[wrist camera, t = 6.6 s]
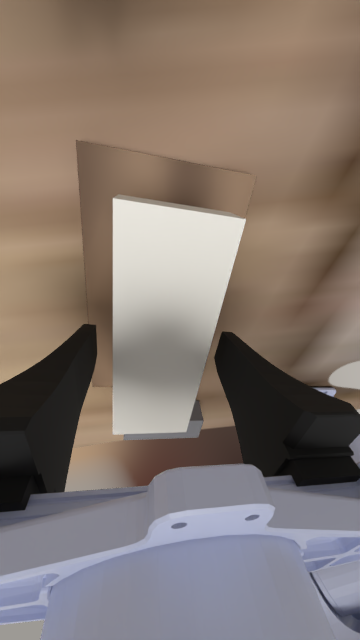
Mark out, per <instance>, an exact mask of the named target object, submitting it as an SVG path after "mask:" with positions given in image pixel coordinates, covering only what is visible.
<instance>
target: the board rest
mask: <svg viewBox="0 0 360 640" xmlns="http://www.w3.org/2000/svg"><path fill="white" fill-rule="evenodd" d="M202 424H203V416H202V412H201V408H200V404H199V401H195V403H194V406H193V410H192V413H191V417H190V421H189V424H188V428H187V431H186V432H178V433H146V434H124V440H137V439H138V440H139V439H165V438H193V437H198V436H199V433H200V430H201V427H202Z"/></svg>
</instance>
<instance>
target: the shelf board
mask: <svg viewBox="0 0 360 640" xmlns="http://www.w3.org/2000/svg"><path fill="white" fill-rule="evenodd" d="M245 222H246V219H244V218H242V217H240V216H237V215H235V214H233V213H230V212H225V211H219V210H212V209H206V208H200V207H194V206H188V205H181V204H175V203H169V202H163V201H157V200H151V199H144V198H138V197H132V196H126V195H120V194H118V195H117V196H115V197H114V198H113V435H114V434H146V433H178V432H186V431H187V428H188V424H189V421H190V417H191V413H192V410H193V406H194V403H195V399H196V396H197V392H198V389H199V385H200V381H201V378H202V374H203V371H204V367H205V364H206V360H207V357H208V353H209V350H210V346H211V342H212V339H213V335H214V332H215V328H216V325H217V321H218V318H219V314H220V310H221V307H222V303H223V300H224V296H225V293H226V289H227V286H228V282H229V278H230V275H231V271H232V268H233V264H234V261H235V257H236V254H237V250H238V247H239V243H240V239H241V236H242V232H243V229H244V225H245Z"/></svg>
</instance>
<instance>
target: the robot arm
mask: <svg viewBox="0 0 360 640" xmlns="http://www.w3.org/2000/svg"><path fill="white" fill-rule="evenodd" d="M96 359H97V333H96V325H91V324H84V325H82V326H81V327H80V328H79V329H78V330H77V331H76V332H75V333H74V334H73V335H72V336H71V337H70V338H69V339H67V340H66V341H65V342H64V343H63V344H62V345H61V346H60V347H58V348H57V349H56V350H55V351H53V352H52V353H51V354H49V355H48V356H47V357H46V358H44V359H43V360H41V361H40V362H38V363H37V364H35V365H34V366H32V367H31V368H29V369H27V370H26V371H24V372H22V373H20V374H19V375H17V376H15V377H13V378H11V379H10V380H8V381H6V382H4V383H2V384H0V625H2V624H11V623H20V622H30V621H39V620H45V621H44V626H43V630H42V634H41V638H40V640H360V414H359V413H358V412H357V411H356V409H355V408H354V407H353V406H352V405H351V404H350V403H347V402H345V401H342V400H340V399H337V398H335V397H333V396H334V395H335V393H336V390H335V389H334V388H312V387H310V386H308V385H306V384H304V383H302V382H300V381H298V380H296V379H295V378H293V377H291V376H289V375H288V374H286V373H284V372H283V371H281V370H280V369H278V368H277V367H275V366H274V365H272V364H271V363H270V362H268V361H267V360H265V359H264V358H263V357H262V356H260V355H259V354H258V353H256V352H255V351H254V350H253V349H252V348H250V347H249V346H248V345H247V344H246V343H244V342H243V341H242V340H241V339H240V338H239V337H237V336H236V335H235V334H233V333H232V332H222V334H221V337H220V340H219V344H218V347H217V350H216V354H215V357H214V359H215V364H216V368H217V373H218V375H219V378H220V381H221V384H222V386H223V389H224V391H225V394H226V397H227V399H228V402H229V405H230V408H231V411H232V414H233V418H234V422H235V426H236V430H237V434H238V439H239V443H240V448H241V453H242V458H243V463H244V464H229V465H214V466H213V465H212V466H196V467H181V468H175V469H170V470H167V471H164V472H162V473H160V474H158V475H156V476H155V478H154V479H153V480H152V481H151V483H150V484H149V486H140V487H127V488H114V489H100V490H87V491H74V492H64V490H65V484H66V479H67V474H68V469H69V463H70V458H71V453H72V448H73V444H74V439H75V434H76V430H77V425H78V421H79V416H80V412H81V409H82V405H83V402H84V399H85V396H86V394H87V391H88V388H89V385H90V382H91V379H92V376H93V373H94V369H95V364H96Z"/></svg>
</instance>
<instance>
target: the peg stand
mask: <svg viewBox="0 0 360 640" xmlns="http://www.w3.org/2000/svg"><path fill="white" fill-rule="evenodd" d="M76 147H77V162H78V177H79V192H80V207H81V222H82V236H83V251H84V266H85V281H86V296H87V310H88V324H91V325H96V333H97V359H96V364H95V369H94V373H93V376H92V385H93V387H113V198H114V197H115V196H117V195H118V194H120V195H126V196H132V197H138V198H144V199H151V200H157V201H163V202H169V203H175V204H181V205H188V206H194V207H200V208H206V209H212V210H219V211H225V212H230V213H233V214H235V215H237V216H240V217H242V218H244V219H245V217H246V214H247V210H248V206H249V203H250V199H251V196H252V192H253V188H254V185H255V181H256V178H257V176H256V175H251V174H246V173H241V172H235V171H230V170H225V169H220V168H215V167H210V166H205V165H200V164H195V163H190V162H185V161H180V160H174V159H169V158H164V157H159V156H154V155H149V154H144V153H139V152H134V151H129V150H124V149H119V148H114V147H108V146H103V145H98V144H93V143H88V142H83V141H78V140H76Z"/></svg>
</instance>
